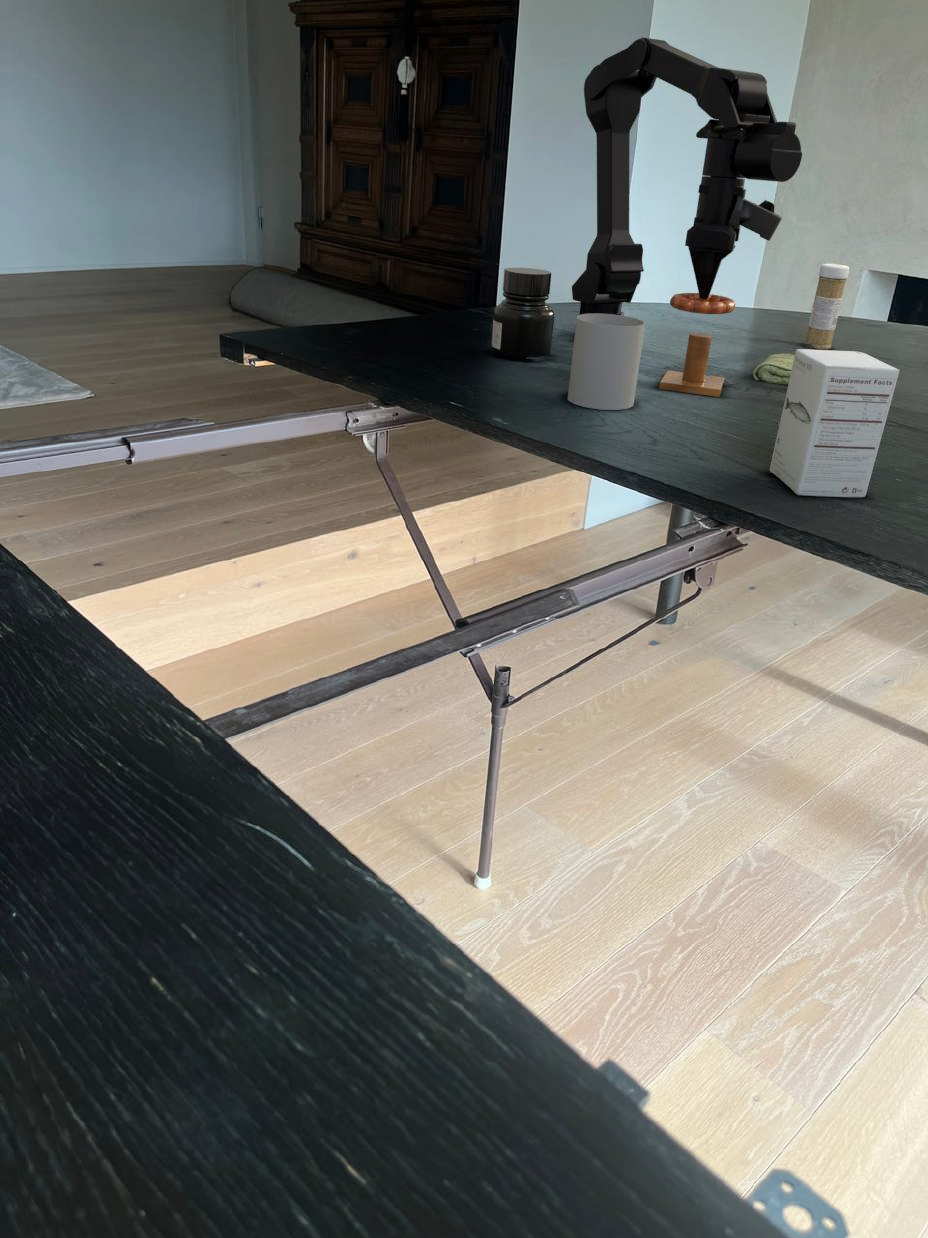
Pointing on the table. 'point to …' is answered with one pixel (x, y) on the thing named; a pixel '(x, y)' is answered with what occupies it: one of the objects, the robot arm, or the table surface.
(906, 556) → the table surface
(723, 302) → the ring
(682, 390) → the wooden peg stand
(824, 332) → the sprinkles bottle
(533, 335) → the ink bottle
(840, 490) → the white packaging box
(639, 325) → the cup
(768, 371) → the washcloth
